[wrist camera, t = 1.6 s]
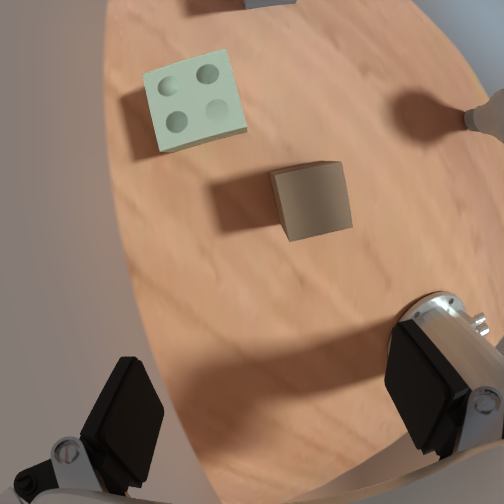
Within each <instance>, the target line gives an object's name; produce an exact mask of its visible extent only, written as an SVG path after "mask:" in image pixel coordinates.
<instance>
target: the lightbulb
mask: <svg viewBox="0 0 504 504" xmlns="http://www.w3.org/2000/svg"><path fill="white" fill-rule="evenodd" d="M464 122H465V125H466V126H467V128H468V129H469V130H471V131H477V132H481V133H484V134H490V135H493V136H494V137H496V138H497V139H498V140H500V141H501V142H502V143H504V89H501V90H499V91H497V92H496V93H495V94H494V95H493V96H492V97H491V98H490V100H489V101H488V102H487V103H486V104H484V105H482V106H478V107H476V108H475V109H470V110H467V111H466V112H465V114H464Z"/></svg>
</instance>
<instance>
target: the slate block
mask: <svg viewBox="0 0 504 504" xmlns="http://www.w3.org/2000/svg"><path fill="white" fill-rule="evenodd" d="M243 2H244V5H245V8H246V10H247V9H253V8H259V7H267V6H274V5H283V4H295V3H296V0H243Z"/></svg>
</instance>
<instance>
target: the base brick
mask: <svg viewBox="0 0 504 504" xmlns="http://www.w3.org/2000/svg"><path fill="white" fill-rule="evenodd" d="M143 80H144V85H145V90H146V95H147V99H148V104H149V108H150V113H151V117H152V122H153V126H154V130H155V134H156V138H157V142H158V146H159V150H160V152H171V153H173V152H176V151H180V150H183V149H186V148H189V147H193V146H196V145H199V144H203V143H207V142H210V141H214V140H217V139H221V138H225V137H229V136H233V135H237V134H241V133H245V132H247V125H246V121H245V117H244V113H243V109H242V106H241V102H240V98H239V94H238V90H237V87H236V83H235V79H234V76H233V72H232V68H231V65H230V61H229V57H228V54H227V50H226V49H222V50H218V51H214V52H210V53H206V54H203V55H199V56H196V57H192V58H189V59H186V60H182V61H179V62H176V63H173V64H170V65H167V66H164V67H162V68H159V69H156V70H153V71H151V72H148V73H146V74H143Z"/></svg>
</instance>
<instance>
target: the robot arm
mask: <svg viewBox="0 0 504 504" xmlns="http://www.w3.org/2000/svg"><path fill="white" fill-rule="evenodd" d="M484 321H485V315H484V313H482V312H481V313H479V314H477V315H475V316H474V317H470V316H469V315H468V314H466V310H465V306H464V304H463V302H462V301H461V300H460V298H458V297H457V296H456V295H454V294H452V293H450V292H437V293H433V294H431V295H428V296H426V297H424V298H423V299H421V300H419V301H418V302H417V303H416V304H414V305H413V306H412V307H411V308H410V309H409V310H408V311H407V312H406V313H405V314H404V315H403V316H402V318H401V319H400V320H399V322H398V323H397V324H396V326H395V327H394V328H393V330H392V334H391V337H390V340H389V343H388V351H387V352H388V362H387V368H386V373H385V379H384V382H385V386H386V389H387V390H388V392H389V394H390V396H391V398H392V400H393V402H394V404H395V406H396V408H397V410H398V412H399V414H400V416H401V418H402V420H403V422H404V424H405V426H406V428H407V430H408V432H409V434H410V436H411V438H412V440H413V442H414V444H415V446H416V448H417V449H419V450H420V449H421V450H422V452H423V455H425V454H427V453H430V452H432V451H434V450H435V452H436V454H437V455H438V456H437V459H436V462H435V463H433V464H431V465H429V466H426V467H424V468H421V469H419V470H416V471H414V472H411V473H408V474H406V475H403V476H400V477H397V478H394V479H392V480H389V481H386V482H383V483H379V484H376V485H373V486H370V487H366V488H362V489H359V490H355V491H351V492H347V493H343V494H339V495H334V496H329V497H324V498H319V499H313V500H307V501H300V502H294V503H285V504H504V357H503V356H502V354H500V353H499V351H497V350H496V348H495V347H494V346H492V345H491V344H490V343H489V342H488V341H487V340H486V339H485V338H484V336H486V335H487V334H488V332H489V328H488V325H487V324H486V323H482V322H484ZM480 323H482V324H480ZM478 324H480V325H478ZM476 325H478V326H476ZM163 417H164V408H163V405H162V403H161V401H160V399H159V397H158V395H157V393H156V391H155V389H154V387H153V385H152V383H151V381H150V379H149V376H148V374H147V372H146V371H145V368H144V365H143V363H142V361H140V360H138V359H137V358H136V357H121V358H120V359H119V361H118V362H117V364H116V366H115V368H114V370H113V371H112V373H111V375H110V377H109V379H108V380H107V382H106V384H105V386H104V388H103V390H102V392H101V394H100V395H99V397H98V399H97V401H96V403H95V405H94V407H93V409H92V411H91V413H90V415H89V416H88V418H87V420H86V423H85V424H84V427H83V429H82V430H81V433H80V435H81V436H80V439H77V438H75V437H64V438H62V439H60V440H58V441H57V442H56V443H55V444H54V446H53V447H52V450H51V459H49V460H47V461H44V462H42V463H40V464H37V465H35V466H33V467H30V468H28V469H25V470H23V471H21V472H19V473H18V475H17V476H16V478H15V480H14V489H13V488H12V487H9V488H8V489H7V490H5V491H4V492H3V493H2V494H0V504H170V503H162V502H155V501H148V500H141V499H135V498H131V497H130V495H129V494H128V492H127V490H128V487H129V486H131V487H136V488H141V487H142V483H143V482H145V481H146V480H147V477H148V473H149V469H150V464H151V461H152V457H153V454H154V449H155V446H156V442H157V438H158V435H159V431H160V427H161V424H162V420H163Z"/></svg>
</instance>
